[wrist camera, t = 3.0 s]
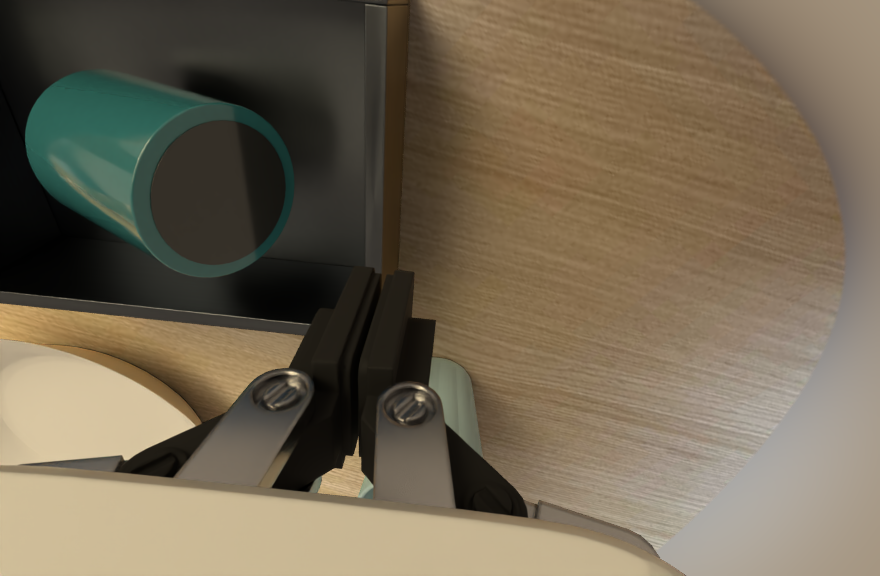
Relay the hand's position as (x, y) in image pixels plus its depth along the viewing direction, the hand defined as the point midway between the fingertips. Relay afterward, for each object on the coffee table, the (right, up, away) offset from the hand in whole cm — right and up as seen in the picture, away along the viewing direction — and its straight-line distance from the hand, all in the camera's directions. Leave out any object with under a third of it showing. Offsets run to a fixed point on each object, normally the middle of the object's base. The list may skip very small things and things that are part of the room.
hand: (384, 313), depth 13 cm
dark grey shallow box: (-11, +9, +12) cm, 19 cm away
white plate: (-27, -11, +26) cm, 39 cm away
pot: (-14, +7, +8) cm, 18 cm away
